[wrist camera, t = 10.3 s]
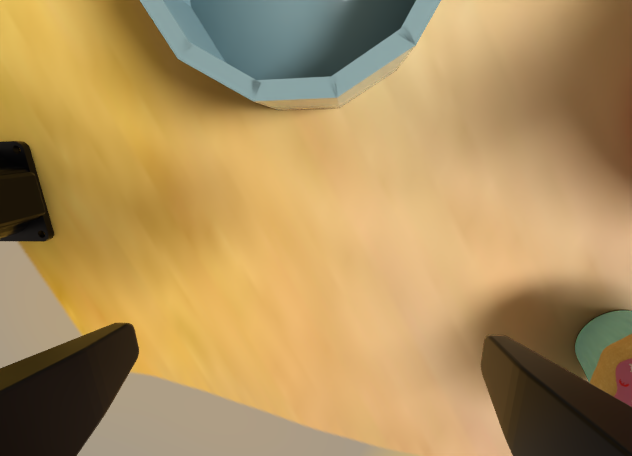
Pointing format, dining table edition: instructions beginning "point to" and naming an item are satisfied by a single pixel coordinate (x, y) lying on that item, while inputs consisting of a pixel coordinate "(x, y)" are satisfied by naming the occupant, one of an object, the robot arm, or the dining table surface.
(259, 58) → the bowl
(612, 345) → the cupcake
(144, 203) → the dining table surface
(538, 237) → the dining table surface
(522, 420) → the robot arm
